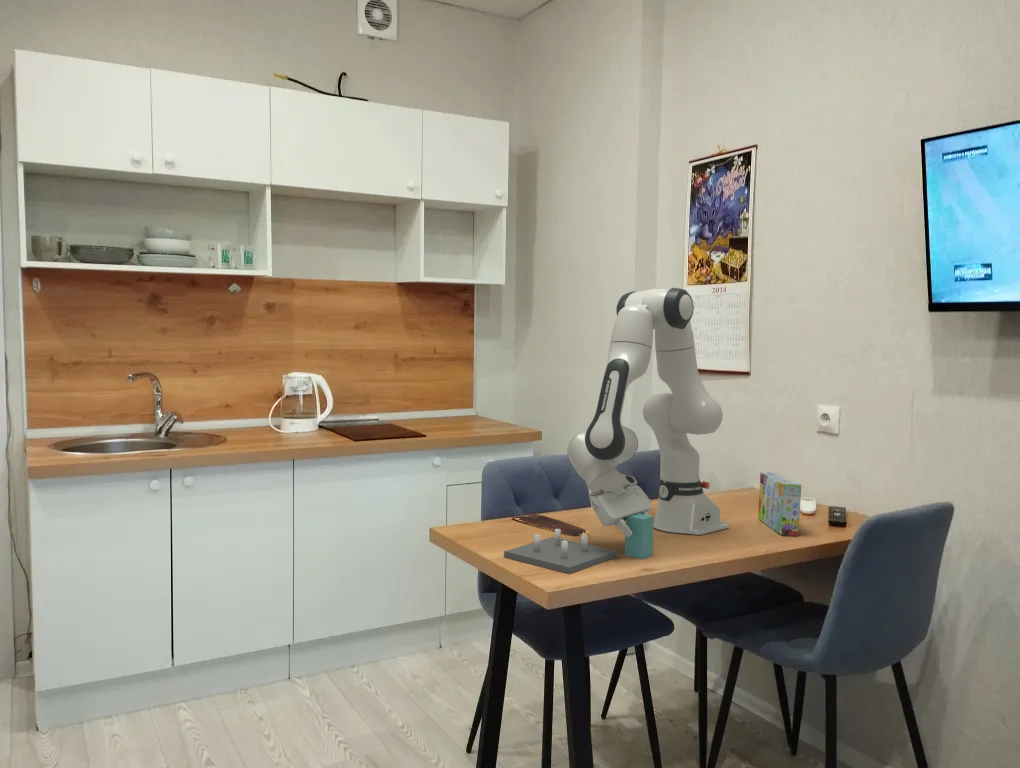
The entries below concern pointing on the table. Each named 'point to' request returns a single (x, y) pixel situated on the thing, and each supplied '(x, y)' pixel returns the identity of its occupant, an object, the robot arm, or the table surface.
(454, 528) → the table surface
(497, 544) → the table surface
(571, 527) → the wooden tablet
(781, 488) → the snack box
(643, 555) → the teal post
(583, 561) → the peg board
